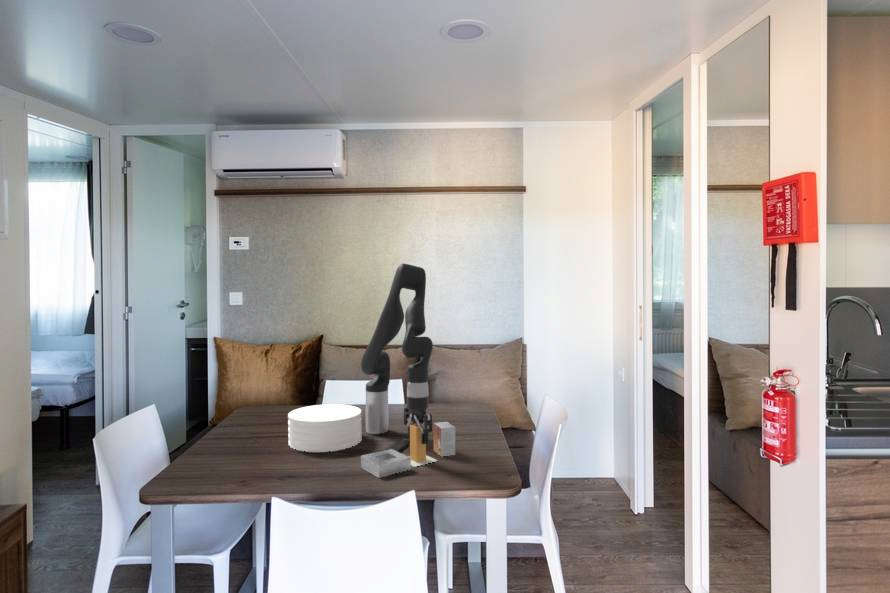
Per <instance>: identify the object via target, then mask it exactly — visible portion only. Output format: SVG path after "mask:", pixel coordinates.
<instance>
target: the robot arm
mask: <svg viewBox="0 0 890 593" xmlns="http://www.w3.org/2000/svg"><path fill="white" fill-rule="evenodd" d="M426 276H427V275H426V271H425V269H424V268H423V267H421V266H416V265H412V264H408V263H400V264H399V265H398V267H397V268H396V271H395V273H394V276H393V279H392V284H391V286H390V289H389V293H388V296H387V298H386V301H385V304H384V307H383V309H382V312H381V313H380V316H379V319H378V322H377V325H376V327H375V329H374V333H373V335H372V336H371V339H370V341H369V344H368V345H367V347H366V349H365V350H364V353H363V355H362V356H361V357H362V358H361V363H360V369H361V371H362V372H363V374H365V375H367V376H368V375H369V376H370V375H371V376H372V375H374V377H373V378H372V379H371V380H369V381H368V382H366V384H365V411H364V414H365V415H364V416H365V418H364V419H365V433H367V434H371V435H380V434H381V433H382V434H386V433H388V432H389V385H390V382H391V380H390V378H391V375H390V374H391V359H390V356H389V354H388V352H387V351H385V350H384V349H385V347H386V346H387V345H388V344H389V343H390V342H392V341H393V340H394V339H395V338H396V337H397V335H398V334H399V332H400V330H401V329H402V325H403V323H404V322H405V324H404V325H405V334H404V338H403V342H402V345H401V351H402V355H404V356H405V357H406V358H421V359H420V361H418V362H416V363H412V364H409V365H408V366H407V371H406V372H407V376H406V377H407V383H406V384H407V385H406V407H404V409H403V424H404V425H406V428H407V435H408V438H410V425H413V424H417V425H418V427H419V428H420V429H421V432H422V444H426V445H427V444H428V443H429V433H432V432H433V415H432V414H431V413H428V414H427V412H426V410H427V409H429V405H430V404H429V382H428V381H429V380H428V375H429V374H428V373H429V372H428V371H429V363H430V359H431V355H432V354H433V353H432V352H433V348H434V347H433V346H434V345H433V344H434V343H433V340H432V339H431V338H430V337H428V336H422V335H424V334H425V332H426V328H427V327H426V318H425V298H426V284H427V280H426V279H427V277H426ZM402 289H406V290H411V291H414V293H415V295H414V297H413V299H412V301H410V303H409V305H408V306H407V307H406V310H405V313H404V309H403V306H402V302H401V297H400V296H401V291H402ZM423 427H424V428H423ZM387 431H388V432H387ZM385 432H386V433H385ZM382 434H381V435H382Z"/></svg>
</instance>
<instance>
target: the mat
mask: <svg viewBox="0 0 890 593" xmlns="http://www.w3.org/2000/svg"><path fill="white" fill-rule="evenodd" d="M407 456H408V457H410V455H407ZM436 461H438V462H439V460H437V459H436V458H434V457H432V456H429V455H427V454H426V460H424V461H420V462H414V461H412V460H411V468H414V467H415V468H418V467H417V466H419V467H422V466H421V465H423V466H426V465H425V464H427V465H429V464H428V463H431V464H433V463H432V462H435V463H437V462H436Z"/></svg>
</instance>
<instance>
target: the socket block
mask: <svg viewBox="0 0 890 593" xmlns="http://www.w3.org/2000/svg"><path fill="white" fill-rule="evenodd" d="M384 450H385V449H384ZM384 450H382V451H376V452H372V453H368V454H367V453H366V454H363V455H360V468H361V469H362V470H365V471H367V472H368V473H370V474H371V475H373V476H375V477H377V478H378V479H379V478H385V477H388V476H391V475H392V474H393V475H395V473H397V474H400V473H403V471H404V472H407V470H408V471H411V470H412V466H411V458H410V457H408V456H409V455H406V454H403V453H401V452H397V451H395V450H393V449H389V450H385V451H384ZM399 472H400V473H399Z"/></svg>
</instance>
